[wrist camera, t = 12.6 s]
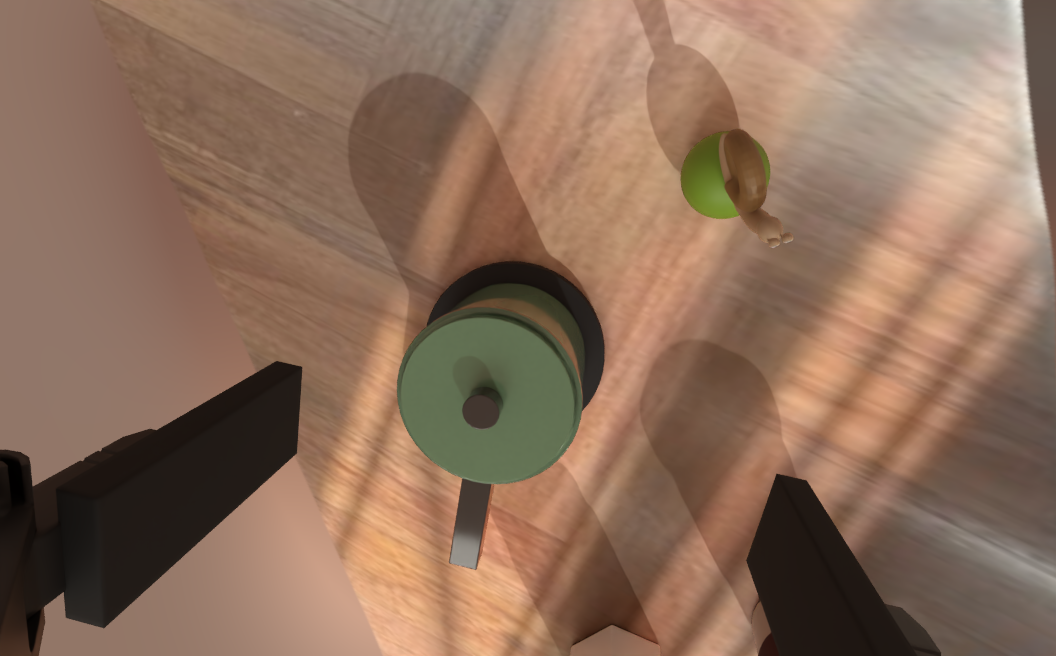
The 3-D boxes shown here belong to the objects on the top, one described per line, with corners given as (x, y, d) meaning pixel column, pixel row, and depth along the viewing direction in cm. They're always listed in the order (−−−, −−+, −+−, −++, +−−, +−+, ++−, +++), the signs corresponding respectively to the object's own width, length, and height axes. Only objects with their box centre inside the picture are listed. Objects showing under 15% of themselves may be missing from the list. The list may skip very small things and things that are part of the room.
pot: (418, 489, 47) (364, 579, 37) (448, 267, 42) (395, 296, 31) (553, 521, 46) (537, 623, 36) (601, 297, 41) (599, 338, 30)
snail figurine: (694, 240, 40) (729, 265, 29) (665, 153, 39) (689, 143, 28) (772, 212, 39) (840, 226, 28) (743, 121, 38) (803, 96, 26)
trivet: (439, 245, 43) (435, 246, 42) (622, 281, 42) (622, 283, 41) (418, 412, 47) (414, 417, 46) (584, 449, 46) (584, 455, 45)
